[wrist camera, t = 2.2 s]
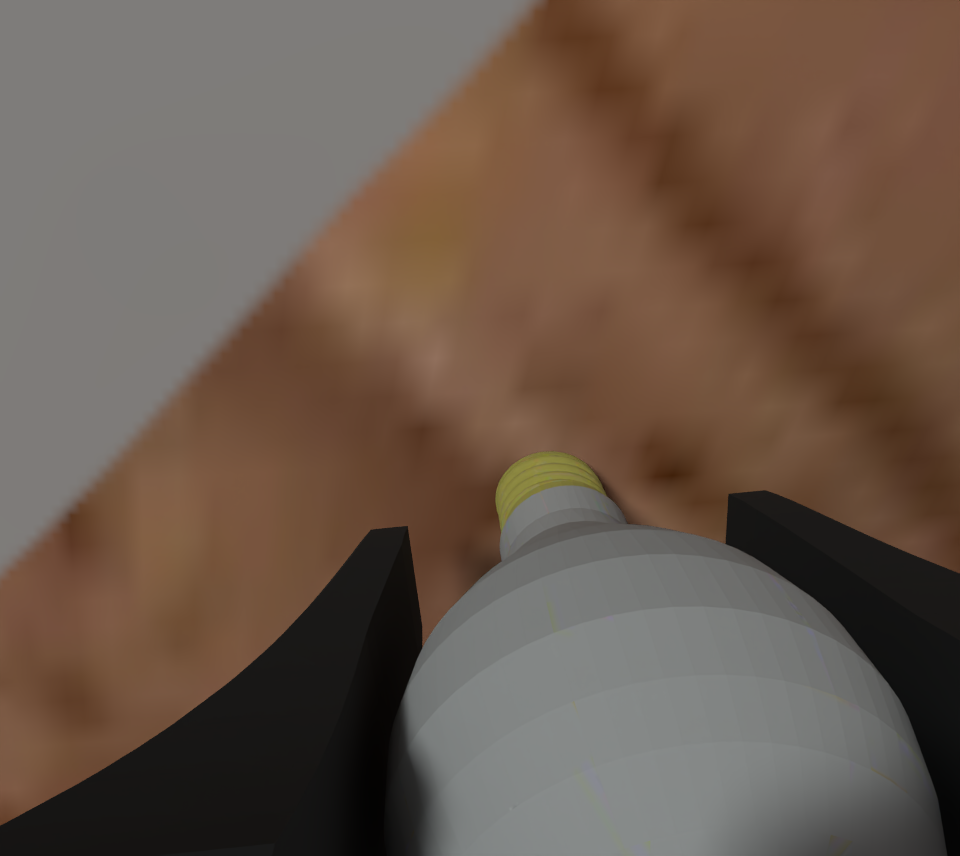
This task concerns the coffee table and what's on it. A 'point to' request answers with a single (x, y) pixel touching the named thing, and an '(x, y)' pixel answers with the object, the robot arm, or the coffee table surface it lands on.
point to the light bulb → (644, 703)
